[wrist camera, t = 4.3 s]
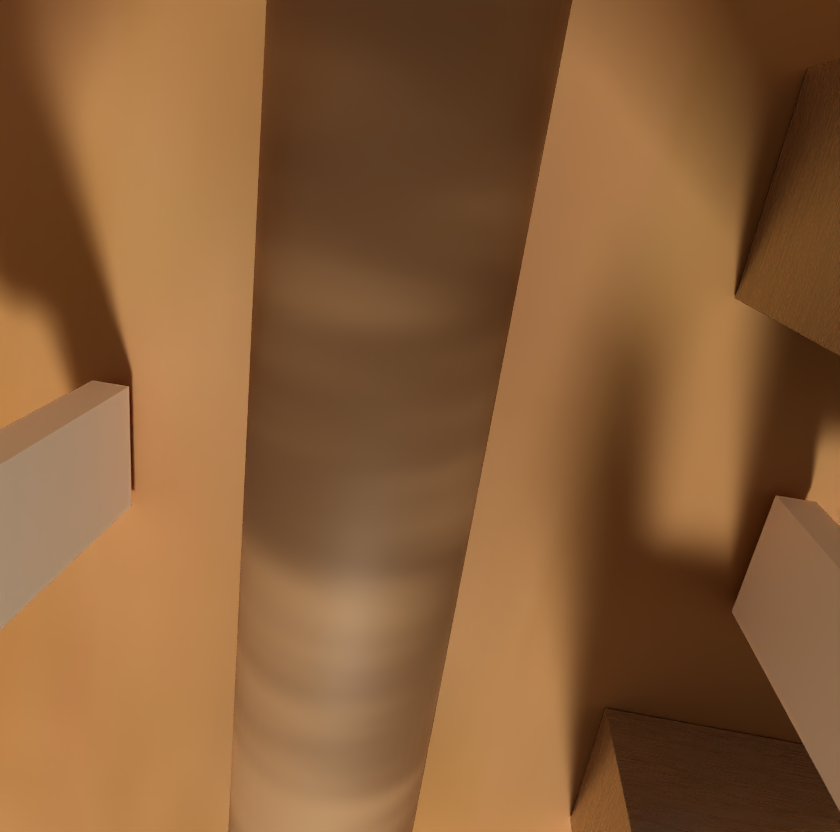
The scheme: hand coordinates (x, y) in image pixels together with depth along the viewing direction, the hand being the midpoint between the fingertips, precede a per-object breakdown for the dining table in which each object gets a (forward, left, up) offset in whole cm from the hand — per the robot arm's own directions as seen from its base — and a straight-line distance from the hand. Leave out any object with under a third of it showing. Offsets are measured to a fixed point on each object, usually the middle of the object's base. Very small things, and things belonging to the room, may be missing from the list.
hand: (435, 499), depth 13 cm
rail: (0, 0, 0) cm, 0 cm away
